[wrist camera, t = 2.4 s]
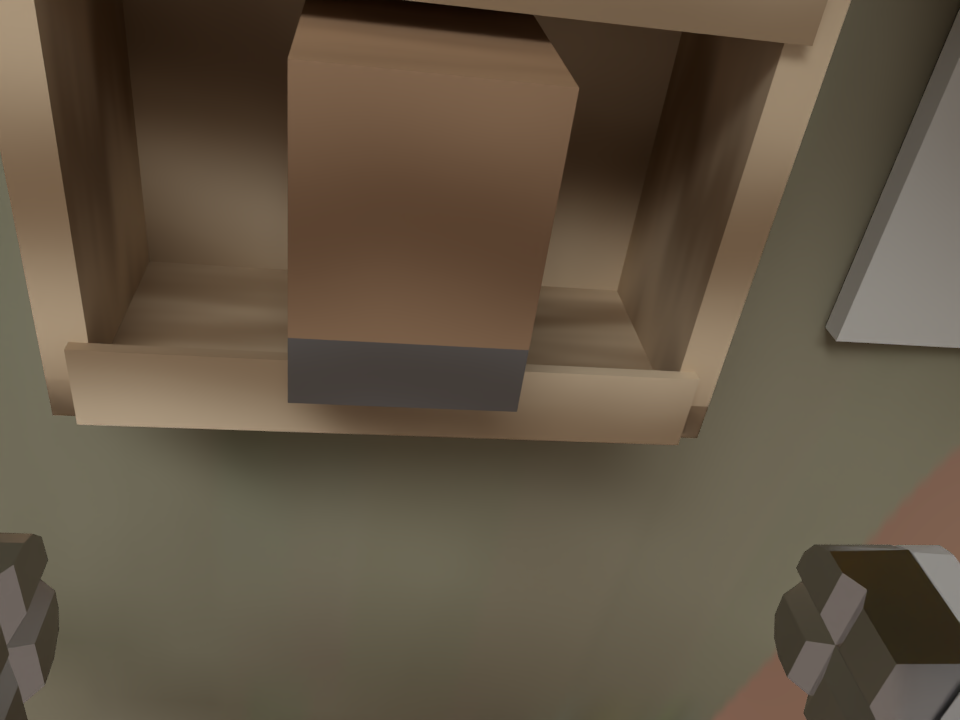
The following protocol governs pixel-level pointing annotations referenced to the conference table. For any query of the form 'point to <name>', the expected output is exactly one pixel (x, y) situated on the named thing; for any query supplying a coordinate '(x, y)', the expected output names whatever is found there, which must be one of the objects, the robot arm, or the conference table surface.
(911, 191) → the felt pad
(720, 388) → the conference table surface
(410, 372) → the capped block
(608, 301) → the brown wooden open box
